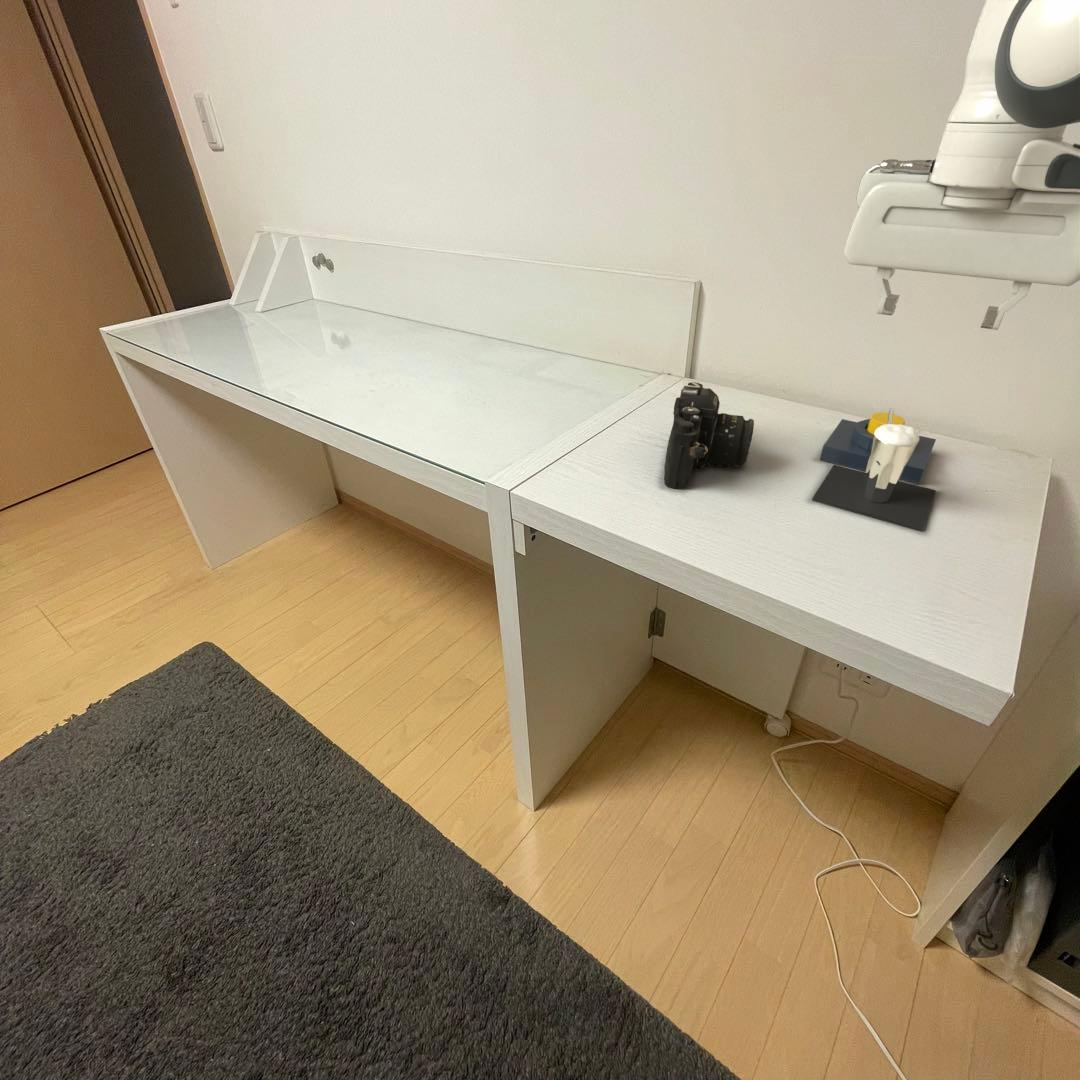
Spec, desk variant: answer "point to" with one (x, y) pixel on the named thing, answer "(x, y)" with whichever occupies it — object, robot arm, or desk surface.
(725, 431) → the film camera
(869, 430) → the cylinder
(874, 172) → the robot arm
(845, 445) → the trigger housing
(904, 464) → the milkshake
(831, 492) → the mat
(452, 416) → the desk surface
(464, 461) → the desk surface
